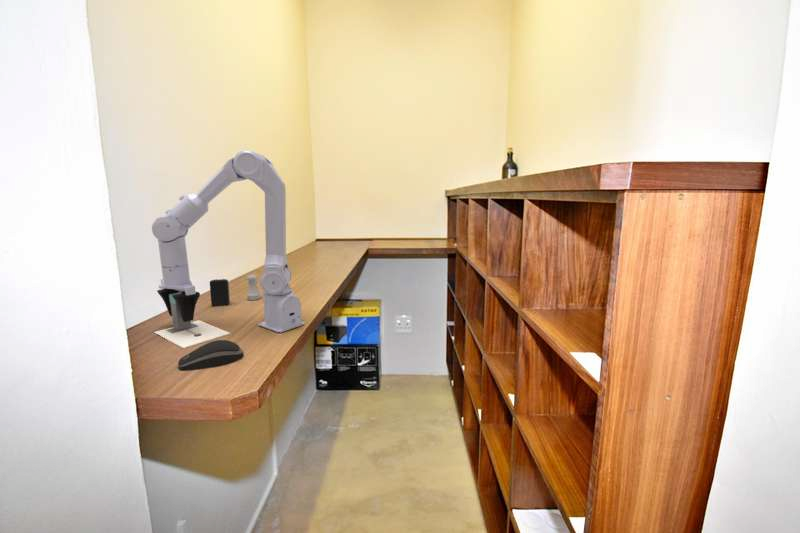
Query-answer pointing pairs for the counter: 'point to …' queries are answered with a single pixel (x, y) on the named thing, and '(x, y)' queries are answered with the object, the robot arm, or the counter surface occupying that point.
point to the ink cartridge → (219, 292)
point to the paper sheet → (192, 334)
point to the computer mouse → (211, 355)
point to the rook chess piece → (253, 288)
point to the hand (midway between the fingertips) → (181, 317)
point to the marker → (177, 315)
